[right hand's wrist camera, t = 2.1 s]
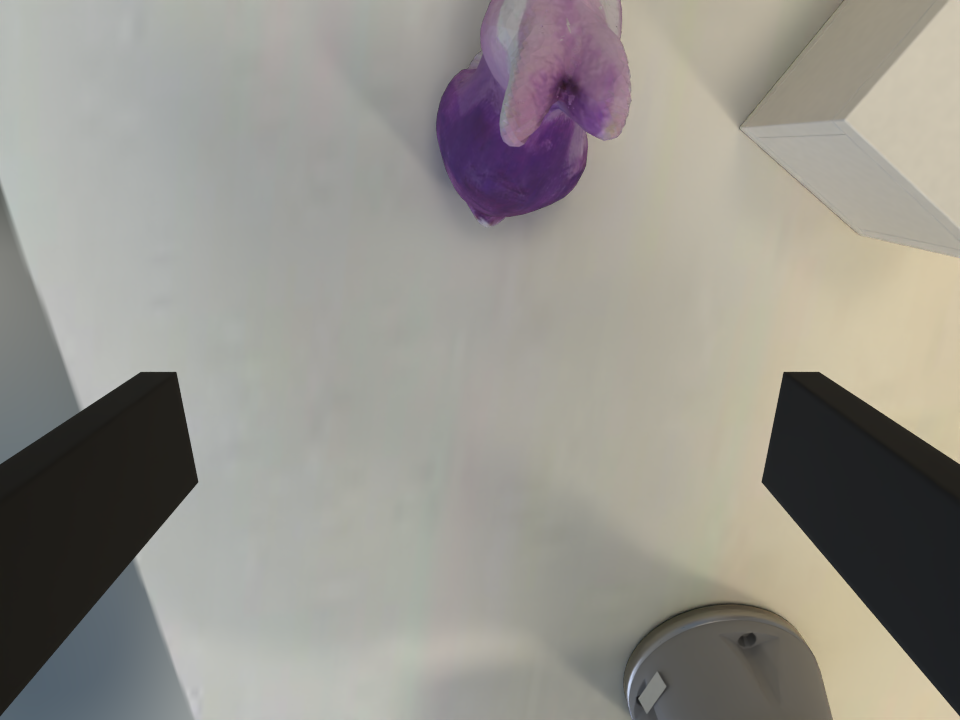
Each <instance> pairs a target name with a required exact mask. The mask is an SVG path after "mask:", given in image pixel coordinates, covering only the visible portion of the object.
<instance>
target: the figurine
mask: <svg viewBox="0 0 960 720" xmlns="http://www.w3.org/2000/svg"><path fill="white" fill-rule="evenodd" d="M621 28H622V7H621V2H620V0H491V2H490V4H489V7H488V9H487V12H486V14H485V17H484V19H483V22H482V26H481V33H480V35H481V48H482V51H481V52H479V53H478V54H476V56H475V57H474V59H473V61H472V62H471V64H470V66H469V67H468V69H464V70H462V71H460V72H459V73H458V74H457V75H456V76H455V77H454V78H453V79H452V80H451V82H450V83H449V84H448V86H447V88H446V90H445V92H444V94H443V96H442V98H441V101H440V105H439V109H438V113H437V122H436V131H437V139H438V143H439V147H440V151H441V154H442V158H443V161H444V165H445V168H446V171H447V173H448V176H449V178H450V180H451V182H452V184H453V186H454V188H455V189H456V191H457V192H458V194H459V195H460V196H461V198H462V199H463V200H465V201H466V203H467V204H468V206H469V208H470V209H471V211H472V213H473V214H474V216H475V218H476V220H477V221H478V222H479V223H480V224H482V225H483V226H485V227H491V226H494V225H496V224H498V223H499V222H501V221H502V220H503V219H504V218H505V217H511V216H516V215H522V214H526V213H529V212H532V211H535V210H538V209H540V208H543V207H546V206H548V205H551V204H552V203H554V202H556V201H558V200H560V199H562V198H564V197H565V196H566V195H567V194H568V193H569V192H570V191H571V190H573V188H574V187H575V186H576V184H577V182H578V181H579V179H580V177H581V175H582V173H583V171H584V169H585V167H586V160H587V150H588V141H587V135H586V132H588V133H589V134H591V135H593V136H595V137H597V138H599V139H601V140H603V141H605V140H610V139H613V138H616V137H618V136H619V135H620V134H621V131H622V128H623V127H624V125H625V121H626V118H627V116H628V113H629V106H630V103H631V101H632V100H631V95H630V94H631V83H630V77H631V76H630V70H629V67H628V63H629V62H628V59H627V56H626V53H625V50H624V47H623V44H622V42H621V41H620V38H621Z"/></svg>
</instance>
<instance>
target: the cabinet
mask: <svg viewBox="0 0 960 720" xmlns="http://www.w3.org/2000/svg"><path fill="white" fill-rule="evenodd" d="M740 129H741V130H742V131H743V132H744V133H745V134H746V135H747V136H749V137H750V138H751V139H752V140H753V141H754V142H755V143H756V144H758V145H759V146H760V147H761V148H762V149H763V150H764V151H765V152H766V153H768V154H769V155H770V156H771V157H772V158H773V159H774V160H775V161H777V162H778V163H779V164H780V165H781V166H782V167H783V168H784V169H786V170H787V171H788V172H789V173H790V174H791V175H792V176H793V177H795V178H796V179H797V180H798V181H799V182H800V183H801V184H802V185H804V186H805V187H806V188H807V189H808V190H809V191H810V192H811V193H813V194H814V195H815V196H816V197H817V198H818V199H819V200H820V201H822V202H823V203H824V204H825V205H826V206H827V207H828V208H829V209H831V210H832V211H833V212H834V213H835V214H836V215H837V216H838V217H840V218H841V219H842V220H843V221H844V222H845V223H846V224H847V225H849V226H850V227H851V228H852V229H853V230H854V231H855V232H856V233H858V234H859V235H861V236H866V237H870V238H874V239H878V240H883V241H887V242H891V243H896V244H900V245H905V246H909V247H913V248H918V249H922V250H926V251H931V252H935V253H940V254H944V255H948V256H953V257H957V258H960V0H844V1H843V2H842V4H841V5H840V6H839V7H838V8H837V10H836V11H835V12H834V13H833V15H832V16H831V17H830V18H829V19H828V21H827V22H826V23H825V24H824V26H823V27H822V28H821V29H820V30H819V32H818V33H817V34H816V35H815V36H814V38H813V39H812V40H811V41H810V43H809V44H808V45H807V46H806V47H805V49H804V50H803V51H802V52H801V54H800V55H799V56H798V57H797V58H796V60H795V61H794V62H793V63H792V64H791V66H790V67H789V68H788V69H787V71H786V72H785V73H784V74H783V75H782V77H781V78H780V79H779V80H778V82H777V83H776V84H775V85H774V86H773V88H772V89H771V90H770V91H769V92H768V94H767V95H766V96H765V97H764V99H763V100H762V101H761V102H760V103H759V105H758V106H757V107H756V108H755V110H754V111H753V112H752V113H751V114H750V116H749V117H748V118H747V119H746V120H745V122H744V123H743V124H742V125H741V127H740Z"/></svg>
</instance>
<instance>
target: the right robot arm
mask: <svg viewBox="0 0 960 720" xmlns="http://www.w3.org/2000/svg"><path fill="white" fill-rule="evenodd" d="M197 483H198V478H197V473H196V468H195V463H194V458H193V453H192V448H191V443H190V438H189V433H188V428H187V423H186V418H185V413H184V408H183V403H182V398H181V393H180V388H179V383H178V378H177V373H176V372H140V373H139V374H137V375H136V376H134V377H133V378H131V379H130V380H128V381H126V382H125V383H123V384H122V385H120V386H119V387H117V388H116V389H114V390H113V391H111V392H110V393H108V394H107V395H105V396H104V397H102V398H101V399H99V400H98V401H96V402H95V403H93V404H91V405H90V406H88V407H87V408H85V409H84V410H82V411H81V412H79V413H78V414H76V415H75V416H73V417H72V418H70V419H69V420H67V421H66V422H64V423H63V424H61V425H60V426H58V427H56V428H55V429H53V430H52V431H50V432H49V433H47V434H46V435H44V436H43V437H41V438H40V439H38V440H37V441H35V442H34V443H32V444H31V445H29V446H28V447H26V448H25V449H23V450H21V451H20V452H19V453H17V454H15V455H14V456H12V457H11V458H9V459H8V460H6V461H5V462H3V463H2V464H0V716H1V715H2V714H3V712H4V711H5V710H6V709H7V708H8V706H9V705H10V704H11V703H12V702H13V700H14V699H15V698H16V697H17V696H18V695H19V693H20V692H21V691H22V690H23V689H24V688H25V686H26V685H27V684H28V683H29V681H30V680H31V679H32V678H33V677H34V676H35V675H36V673H37V672H38V671H39V670H40V669H41V667H42V666H43V665H44V664H45V663H46V661H47V660H48V659H49V658H50V657H51V656H52V654H53V653H54V652H55V651H56V650H57V649H58V647H59V646H60V645H61V644H62V643H63V641H64V640H65V639H66V638H67V637H68V636H69V634H70V633H71V632H72V631H73V630H74V628H75V627H76V626H77V625H78V624H79V623H80V621H81V620H82V619H83V618H84V617H85V615H86V614H87V613H88V612H89V611H90V610H91V608H92V607H93V606H94V605H95V604H96V602H97V601H98V600H99V599H100V598H101V596H102V595H103V594H104V593H105V592H106V591H107V589H108V588H109V587H110V586H111V585H112V584H113V582H114V581H115V580H116V579H117V578H118V576H119V575H120V574H121V573H122V572H123V570H124V569H125V568H126V567H127V566H128V565H129V563H130V562H131V561H132V560H133V559H134V558H135V556H136V555H137V554H138V553H139V552H140V550H141V549H142V548H143V547H144V546H145V545H146V543H147V542H148V541H149V540H150V539H151V537H152V536H153V535H154V534H155V533H156V532H157V530H158V529H159V528H160V527H161V526H162V524H163V523H164V522H165V521H166V520H167V519H168V517H169V516H170V515H171V514H172V513H173V511H174V510H175V509H176V508H177V507H178V506H179V504H180V503H181V502H182V501H183V500H184V498H185V497H186V496H187V495H188V494H189V493H190V491H191V490H192V489H193V488H194V487H195V485H196V484H197ZM762 483H763V484H764V485H765V487H766V488H767V489H768V490H769V491H770V493H771V494H772V495H773V496H774V497H775V498H776V500H777V501H778V502H779V503H780V504H781V506H782V507H783V508H784V509H785V510H786V511H787V513H788V514H789V515H790V516H791V517H792V519H793V520H794V521H795V522H796V523H797V524H798V526H799V527H800V528H801V529H802V530H803V532H804V533H805V534H806V535H807V536H808V537H809V539H810V540H811V541H812V542H813V543H814V545H815V546H816V547H817V548H818V549H819V550H820V552H821V553H822V554H823V555H824V556H825V558H826V559H827V560H828V561H829V562H830V563H831V565H832V566H833V567H834V568H835V569H836V571H837V572H838V573H839V574H840V575H841V576H842V578H843V579H844V580H845V581H846V582H847V584H848V585H849V586H850V587H851V588H852V589H853V591H854V592H855V593H856V594H857V595H858V597H859V598H860V599H861V600H862V601H863V602H864V604H865V605H866V606H867V607H868V608H869V610H870V611H871V612H872V613H873V614H874V615H875V617H876V618H877V619H878V620H879V621H880V623H881V624H882V625H883V626H884V627H885V628H886V630H887V631H888V632H889V633H890V634H891V636H892V637H893V638H894V639H895V640H896V641H897V643H898V644H899V645H900V646H901V647H902V649H903V650H904V651H905V652H906V653H907V654H908V656H909V657H910V658H911V659H912V660H913V662H914V663H915V664H916V665H917V666H918V667H919V669H920V670H921V671H922V672H923V673H924V675H925V676H926V677H927V678H928V679H929V680H930V682H931V683H932V684H933V685H934V686H935V688H936V689H937V690H938V691H939V692H940V693H941V695H942V696H943V697H944V698H945V699H946V701H947V702H948V703H949V704H950V705H951V706H952V708H953V709H954V710H955V711H956V712H957V714H958V715H959V716H960V464H958V463H957V462H955V461H954V460H952V459H951V458H949V457H948V456H946V455H945V454H943V453H942V452H940V451H939V450H937V449H936V448H934V447H932V446H931V445H929V444H928V443H926V442H925V441H923V440H922V439H920V438H919V437H917V436H916V435H914V434H913V433H911V432H910V431H908V430H907V429H905V428H904V427H902V426H900V425H899V424H897V423H896V422H894V421H893V420H891V419H890V418H888V417H887V416H885V415H884V414H882V413H881V412H879V411H878V410H876V409H875V408H873V407H872V406H870V405H869V404H867V403H865V402H864V401H862V400H861V399H859V398H858V397H856V396H855V395H853V394H852V393H850V392H849V391H847V390H846V389H844V388H843V387H841V386H840V385H838V384H837V383H835V382H834V381H832V380H830V379H829V378H827V377H826V376H824V375H823V374H821V373H820V372H784V373H783V378H782V383H781V388H780V393H779V398H778V403H777V408H776V413H775V418H774V423H773V428H772V433H771V438H770V443H769V448H768V453H767V458H766V463H765V468H764V473H763V478H762ZM624 692H625V696H626V700H627V704H628V707H629V711H630V715H631V717H632V720H833V718H832V715H831V711H830V707H829V703H828V699H827V695H826V691H825V687H824V683H823V680H822V676H821V672H820V669H819V667H818V664H817V661H816V659H815V657H814V655H813V653H812V651H811V650H810V648H809V647H808V645H807V644H806V642H805V641H804V639H803V638H802V636H801V635H800V634H799V632H798V631H797V630H796V629H795V628H794V627H793V626H792V625H791V624H790V623H789V622H787V621H786V620H785V619H783V618H781V617H780V616H778V615H776V614H774V613H772V612H769V611H766V610H764V609H760V608H756V607H752V606H746V605H729V604H726V605H714V606H707V607H703V608H698V609H695V610H691V611H688V612H685V613H683V614H680V615H678V616H676V617H673V618H671V619H670V620H668V621H666V622H664V623H663V624H661V625H660V626H658V627H657V628H655V629H654V630H653V631H651V632H650V633H649V634H648V635H647V636H646V637H645V638H644V639H643V640H642V641H641V642H640V643H639V644H638V646H637V647H636V648H635V650H634V651H633V653H632V655H631V656H630V658H629V661H628V663H627V665H626V669H625V673H624Z"/></svg>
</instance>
